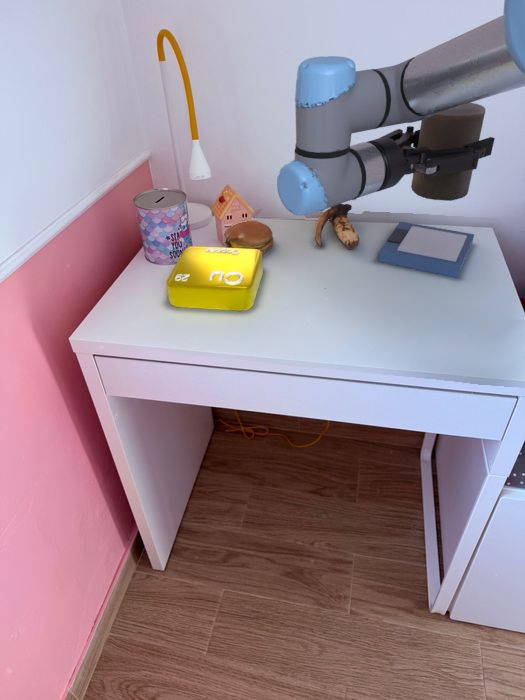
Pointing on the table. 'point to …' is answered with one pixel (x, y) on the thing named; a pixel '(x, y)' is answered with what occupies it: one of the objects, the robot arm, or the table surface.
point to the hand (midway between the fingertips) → (464, 138)
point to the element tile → (216, 278)
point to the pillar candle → (448, 133)
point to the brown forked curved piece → (338, 225)
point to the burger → (249, 236)
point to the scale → (427, 248)
